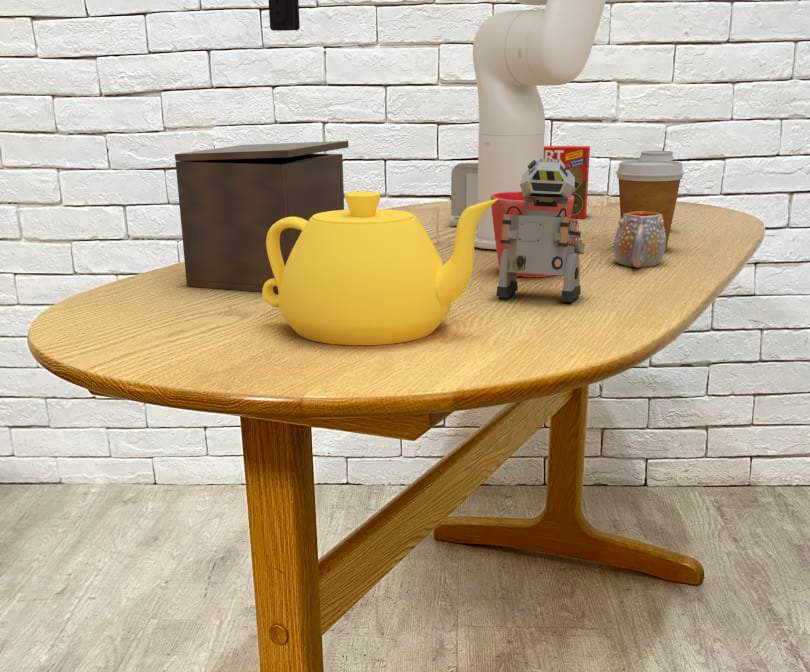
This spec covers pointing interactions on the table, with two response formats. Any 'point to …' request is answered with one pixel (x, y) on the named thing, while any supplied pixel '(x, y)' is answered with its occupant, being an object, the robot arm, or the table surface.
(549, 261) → the figurine
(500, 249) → the flower pot
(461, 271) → the teapot
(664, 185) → the disposable coffee cup
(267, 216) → the case
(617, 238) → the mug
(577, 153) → the toy box
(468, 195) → the handheld gaming console
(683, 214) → the table surface
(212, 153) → the lid
